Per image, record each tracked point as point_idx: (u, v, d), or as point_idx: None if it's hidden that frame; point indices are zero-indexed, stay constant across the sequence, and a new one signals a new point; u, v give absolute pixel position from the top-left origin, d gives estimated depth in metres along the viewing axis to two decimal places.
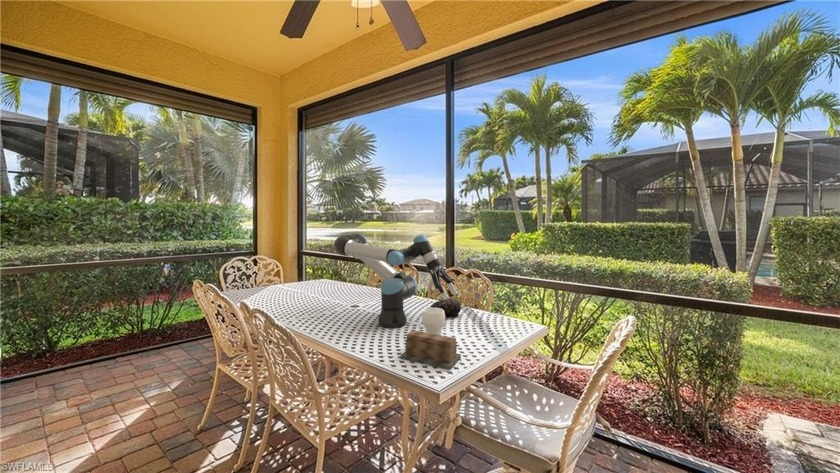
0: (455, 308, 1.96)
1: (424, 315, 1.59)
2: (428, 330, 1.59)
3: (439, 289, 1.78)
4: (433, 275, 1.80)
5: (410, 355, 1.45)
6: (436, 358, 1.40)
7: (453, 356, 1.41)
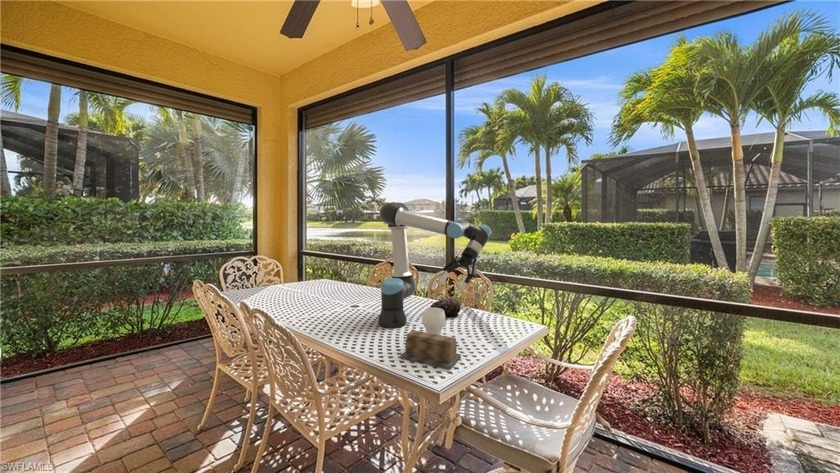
0: (455, 308, 1.96)
1: (424, 315, 1.59)
2: (428, 330, 1.59)
3: (469, 278, 1.63)
4: (475, 265, 1.66)
5: (410, 355, 1.45)
6: (436, 358, 1.40)
7: (453, 356, 1.41)
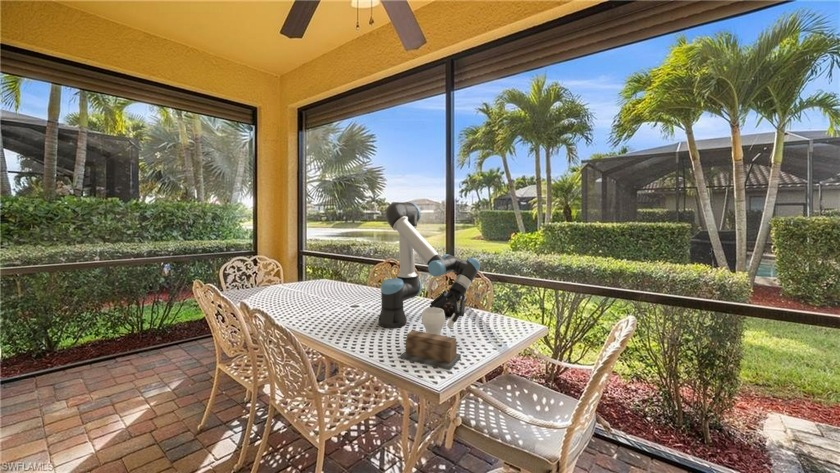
0: (454, 307, 1.97)
1: (424, 315, 1.58)
2: (428, 330, 1.59)
3: (456, 316, 1.58)
4: (463, 302, 1.61)
5: (410, 355, 1.45)
6: (436, 358, 1.40)
7: (453, 356, 1.41)
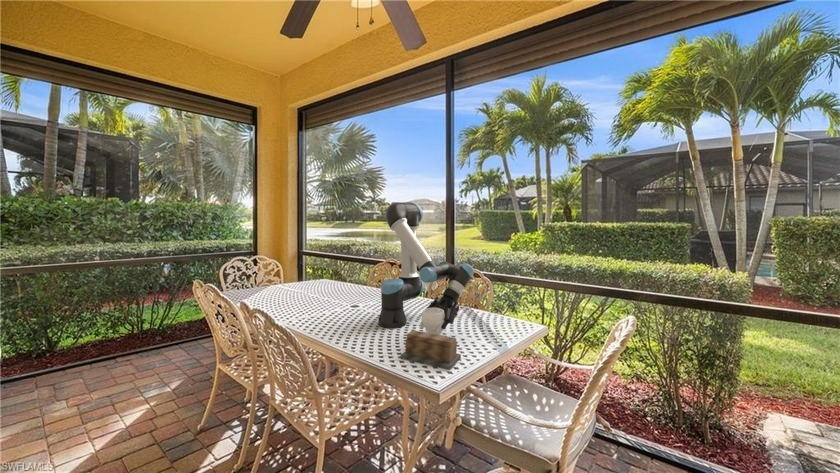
0: None
1: (424, 315, 1.59)
2: (428, 330, 1.59)
3: (445, 324, 1.57)
4: (455, 309, 1.60)
5: (410, 355, 1.45)
6: (436, 358, 1.40)
7: (453, 356, 1.41)
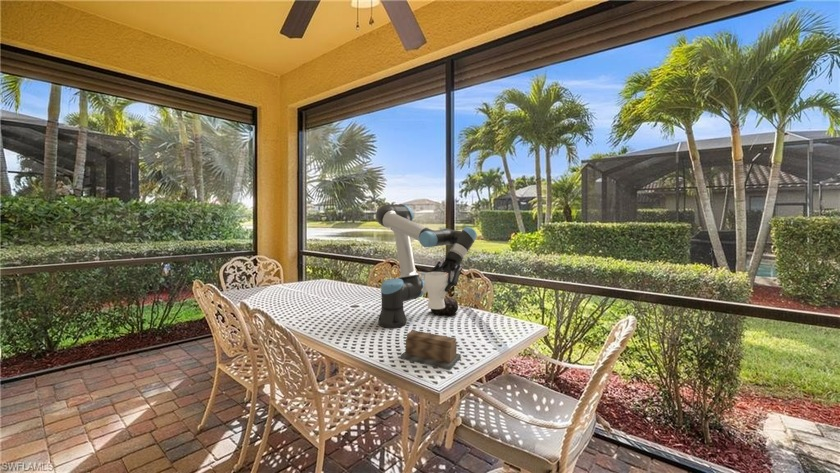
0: (453, 307, 1.98)
1: (426, 278, 1.52)
2: (431, 294, 1.52)
3: (449, 286, 1.50)
4: (458, 272, 1.54)
5: (410, 355, 1.45)
6: (436, 358, 1.40)
7: (453, 356, 1.41)
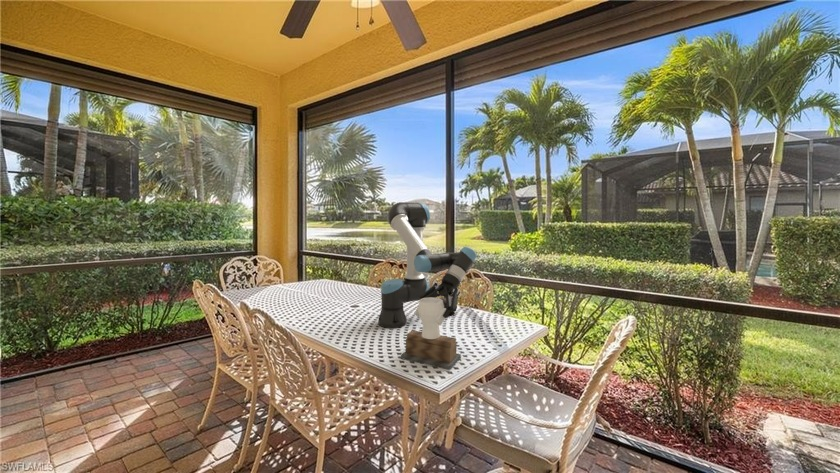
0: None
1: (420, 305, 1.41)
2: (425, 322, 1.41)
3: (448, 312, 1.38)
4: (456, 296, 1.42)
5: (410, 355, 1.45)
6: (436, 358, 1.40)
7: (453, 356, 1.41)
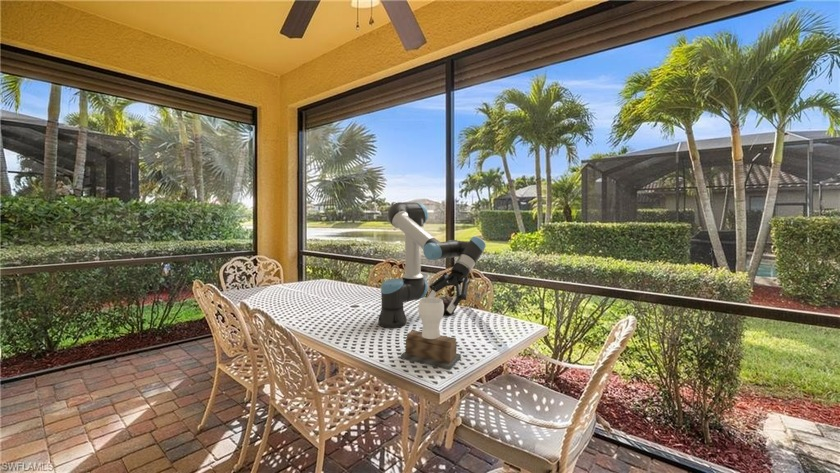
0: None
1: (420, 305, 1.41)
2: (425, 322, 1.41)
3: (458, 300, 1.40)
4: (466, 285, 1.44)
5: (410, 355, 1.45)
6: (436, 358, 1.40)
7: (453, 356, 1.41)
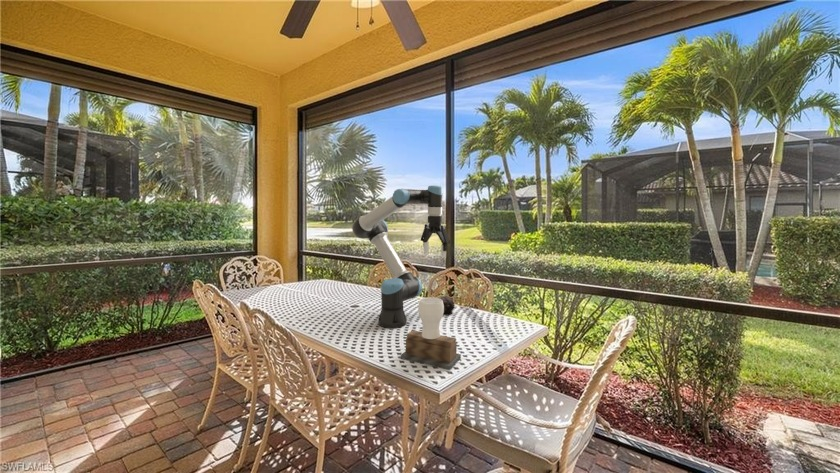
0: (451, 305, 2.01)
1: (420, 305, 1.41)
2: (425, 322, 1.41)
3: (445, 246, 1.77)
4: (444, 231, 1.77)
5: (410, 355, 1.45)
6: (436, 358, 1.40)
7: (453, 356, 1.41)
